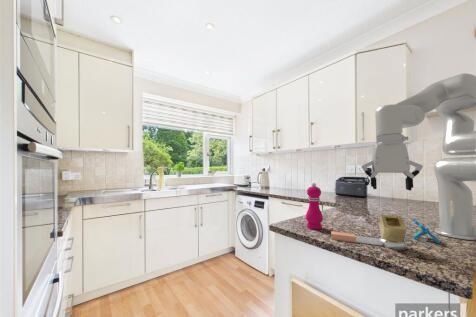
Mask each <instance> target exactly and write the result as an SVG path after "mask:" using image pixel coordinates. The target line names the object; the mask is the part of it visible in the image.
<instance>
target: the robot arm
mask: <svg viewBox="0 0 476 317" xmlns="http://www.w3.org/2000/svg"><path fill="white" fill-rule="evenodd" d="M475 108H476V75H475V74H471V73H460V74H456V75H454V76H450V77H447V78H443V79H440V80H437V81H435V82H432V83H431V84H430V85H428V86H426V87H425V88H424V89H422V90H421V91H418V93H416V94H413V95H411V96H409V97H408V98H406V99H404V100H401V101H399V102H397V103H395V104H386V105H382V106H381V105H380V106H379V107H378V108H376V110H375V114H374V115H375V116H374V117H375V139H376V140H375V145H373V148H372V159H371V161H368V162H367V163H364V164H362V165H361V167H360V168H361V169H362V171H364V173H365V174H366V175H367V176H368V177H370V187H372V189H373V190H377V185H378V184H377V178H376V176H377V175H378V174H379V173H381V174H382V173H383V174H385V173H387V174H388V173H389V174H390V173H392V174H394V173H400V174H403V175H404V176H405V177H406V178H405V180H404V181H405V190H407V191H412V189H413V188H414V178H416V176H418V175H419V174H420V172H421V170H422V169H423V167H424V165H423V164H420V163H417V162H414V161H412V160H410V157H409V150H408V147H407V144H406V143H405V141H409V136H407V135H404V134H403V131H404V130H403V129H405V128H411V127H412V128H413V127H415V126H418V125H420V124H421V123H423V121H424V120H425V117H426V114H428V113H430V112H432V111H434V110H435V111H436V113H437V114H438V115H439V117H440V118H441V121H442V122H443V124H444V129H443V138H442V145H441V146H442V147H441V148H442V152H443V154H445V155H447V156H454V157H445V158H440V159H439V160H436V162H434V165H433V172H434V174H435V178H436V183H437V192H438V193H437V194H438V214H439V215H438V216H439V227H436V228H434V232H435V233H436V234H439V235H442V236H444V237H450V238H453V239H460V240H464V241H465V240H466V241H476V225H475V222H474V200H473V192H472V190H471V189H470V187H469V186H468V185H467V184H465V182H475V183H476V130H475V122H474V120H473V118H471V117H470V116H469V115H467V114H466V113H463V112H462V111H465V110H470V109H475ZM455 156H456V157H455ZM458 156H459V157H458ZM461 156H462V157H461ZM465 156H466V157H465ZM371 166H372V168H371V169H372V171H370V170H369V169H368V168H369V167H371ZM411 166H412V167H414V168H415V169H414V170H413V171H412V172H411V171H410V170H411Z"/></svg>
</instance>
